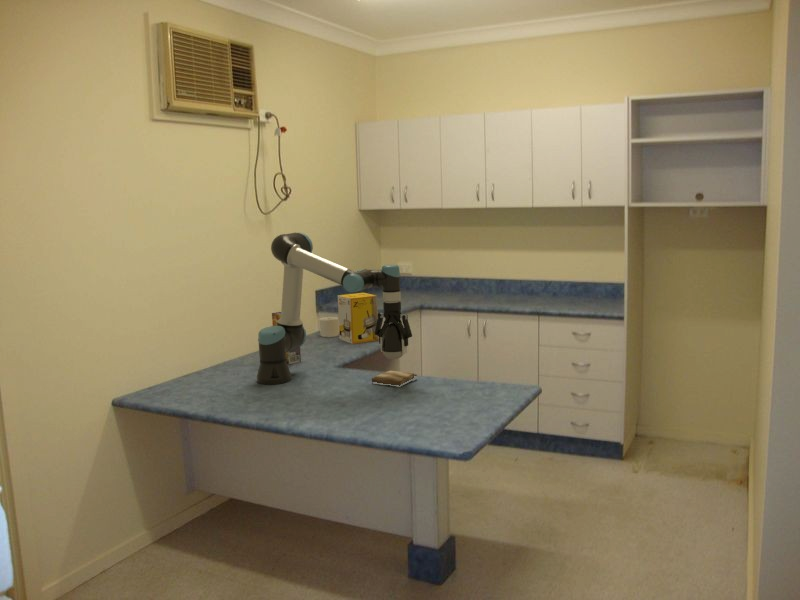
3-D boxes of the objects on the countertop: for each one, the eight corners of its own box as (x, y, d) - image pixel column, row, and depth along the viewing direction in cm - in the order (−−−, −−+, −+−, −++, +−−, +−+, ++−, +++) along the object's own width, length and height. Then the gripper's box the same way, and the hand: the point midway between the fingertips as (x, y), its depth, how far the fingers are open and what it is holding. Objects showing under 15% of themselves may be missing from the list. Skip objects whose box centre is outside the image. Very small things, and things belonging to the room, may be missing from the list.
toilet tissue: (333, 333, 429) (333, 316, 427) (343, 336, 419) (342, 318, 417) (317, 335, 423) (316, 318, 422) (326, 338, 413) (325, 321, 412)
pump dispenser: (407, 355, 317) (406, 320, 315) (403, 360, 307) (402, 325, 305) (385, 354, 319) (383, 320, 317) (379, 360, 309) (378, 325, 307)
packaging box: (378, 340, 404) (377, 295, 400) (352, 344, 396) (350, 298, 392) (365, 335, 418) (363, 292, 414) (339, 339, 410) (337, 295, 406)
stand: (399, 387, 305) (399, 380, 305) (372, 383, 313) (371, 377, 312) (416, 379, 317) (416, 373, 317) (389, 376, 324) (389, 369, 324)
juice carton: (300, 361, 358) (298, 313, 354) (288, 364, 353) (285, 315, 349) (286, 358, 367) (284, 311, 363) (274, 360, 362) (271, 313, 358)
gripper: (419, 301, 307) (421, 353, 310) (374, 298, 319) (376, 348, 322) (410, 304, 300) (412, 356, 304) (364, 301, 313) (367, 351, 316)
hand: (393, 352), depth 313 cm, fingers closed on pump dispenser, 10 cm apart
